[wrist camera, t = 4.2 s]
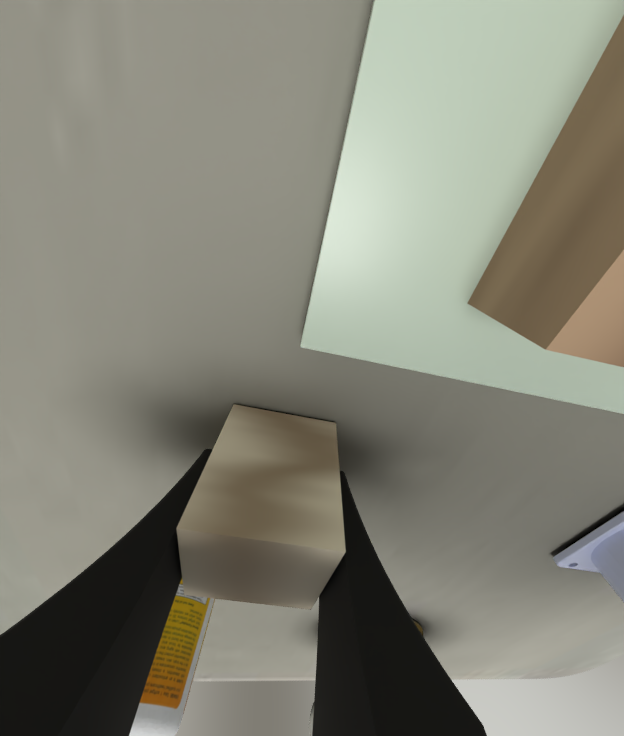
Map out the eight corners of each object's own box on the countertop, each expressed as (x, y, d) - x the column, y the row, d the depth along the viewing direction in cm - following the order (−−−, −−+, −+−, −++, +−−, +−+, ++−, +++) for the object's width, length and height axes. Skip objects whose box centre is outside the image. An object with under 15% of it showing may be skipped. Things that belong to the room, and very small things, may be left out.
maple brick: (336, 422, 11) (345, 551, 7) (314, 484, 13) (310, 609, 9) (233, 404, 11) (176, 528, 6) (228, 470, 13) (184, 594, 9)
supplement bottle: (140, 556, 19) (-6, 832, 10) (212, 557, 18) (123, 840, 10) (163, 586, 21) (64, 822, 13) (226, 588, 21) (166, 828, 13)
